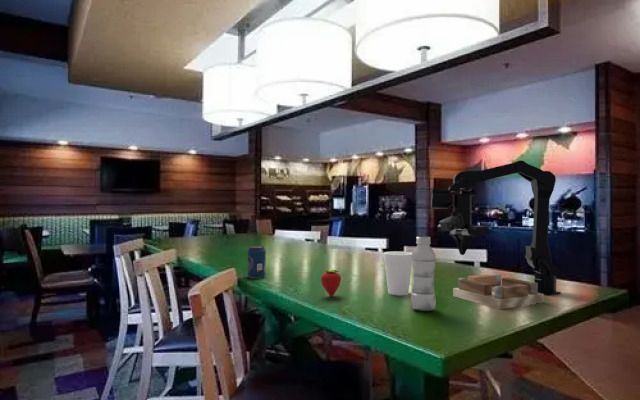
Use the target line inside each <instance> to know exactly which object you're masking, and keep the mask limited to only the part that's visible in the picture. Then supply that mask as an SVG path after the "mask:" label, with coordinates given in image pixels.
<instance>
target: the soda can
mask: <svg viewBox="0 0 640 400" xmlns="http://www.w3.org/2000/svg"><path fill="white" fill-rule="evenodd" d="M266 256H267V253H266V249H265V246H263V245H252V246H249V247H248V250H247V275H248V277H249V278H250V279H262V277H263V278H264V277H265V276H266V274H267V272H266V271H267V269H266V267H267V266H266V262H267V260H266V258H267V257H266Z"/></svg>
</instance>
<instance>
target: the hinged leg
mask: <svg viewBox="0 0 640 400" xmlns="http://www.w3.org/2000/svg"><path fill="white" fill-rule="evenodd" d="M467 279H469V280H474V281H478V282H483V283H487V284H492V285H502V274H499V273H489V274H488V273H487V274H477V275H476V274H475V275H468V276H467Z"/></svg>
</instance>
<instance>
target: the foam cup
mask: <svg viewBox="0 0 640 400" xmlns="http://www.w3.org/2000/svg"><path fill="white" fill-rule="evenodd" d="M412 253H413V252H410V251H385V252H383V262H384V269H385V276H386V284H387V292H388V294H389V295H393V296H407V295H408V294H409V292H410V284H411V277H412V271H413V266H412V257H411V256H412Z"/></svg>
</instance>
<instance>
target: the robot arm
mask: <svg viewBox="0 0 640 400" xmlns="http://www.w3.org/2000/svg"><path fill="white" fill-rule="evenodd" d="M514 174H517V175H518V176H520V177H522V178H523V179H524V180H526V181H527V182H530V185H531V191H532V195H533V199H534V202H533V203H534V204H533V227H532V240H531V243H530V244H529V245H525V255H524V258H525V259H526V262H527V264H528V266H530V267H532V269H533V272H534V279H533V280H534V281H533V282H536V283H538V293H540V294H544V296H545V295H546V296H551V295H552V296H553V295H559V294H561V293H562V292H561V291H557V277H558V276H559V274H560V269H559V268H558V266H556V265H555V264H554V263H553V262H552V255H551V253H552V252H551V250H550V246H549V243H548V237H549V236H548V235H549V219H550V218H549V215H550V199H551V197H552V195H553V192H554V190H555V185H556V181H557V178H556V175H555V174H554V173H553V172H552V171H550V170H543V169H541V168H539V167H537V166H533V165H531V164H530V163H527V162H526V161H524V160H516V161H515V162H511V163H507V164H503V165H499V166H493V167H490V168H486V169H482V170H481V169H480V170H465V171H460V172H458V173H456V174H455V175H454V176H453V179H452V184H450V186H448V188H447V189H445V188H444V189H440V188H439V189H438V188H432V189H431V198H430V208H431V209H434V210H435V209H437V210H438V209H440V210H441V209H443V210H444V209H445V210H448V209H449V207H451V206H452V205H453V211H450V214H449V216H448V217H446V218H444V219H441V220H440V221H438V222H439V224H438V225H437V232H438V233H445V232H449V233H448V235H449V236H451V237H452V238H453V239H454V240H455V243H456V246H457V248H458V251H459V254H460V256H464V255H465V254H466V252H467V250H468V248H469V246H470V244H471V242H472V241H473V239H474V238H475V237H477V236H490V235H491V234H490V232H491V230H490V227H489V226H485V225H475V224H474V223H472V216H474V215H475V211H472V196H478V194H479V193H478V192H476V191H475V189H474V188H470V187H473V186H475V185H477V184H479V183H482V182H484V181H488V180H494V179H497V178H501V177H505V176H510V175H514ZM467 188H470V189H469V190H464V189H467ZM459 190H460V191H459ZM457 191H459V193H454V192H457Z"/></svg>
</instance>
